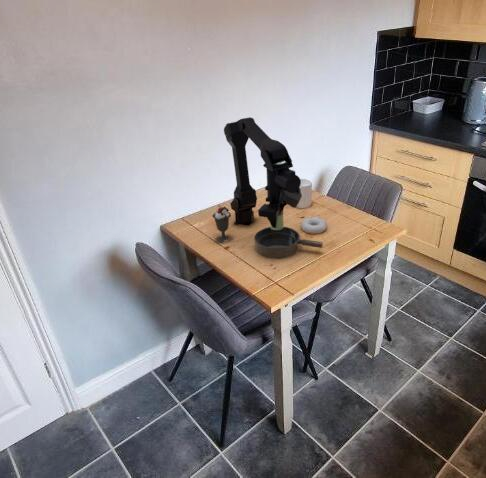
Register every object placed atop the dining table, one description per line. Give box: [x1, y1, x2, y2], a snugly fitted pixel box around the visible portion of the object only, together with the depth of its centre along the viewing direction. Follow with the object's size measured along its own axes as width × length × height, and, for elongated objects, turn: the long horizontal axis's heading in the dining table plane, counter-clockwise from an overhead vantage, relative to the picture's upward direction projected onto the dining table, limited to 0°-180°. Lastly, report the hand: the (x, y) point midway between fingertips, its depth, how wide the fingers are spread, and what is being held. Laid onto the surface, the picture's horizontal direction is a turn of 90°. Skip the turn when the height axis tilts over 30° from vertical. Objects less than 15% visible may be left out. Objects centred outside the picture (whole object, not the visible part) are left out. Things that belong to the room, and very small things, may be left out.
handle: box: [298, 239, 324, 249], centre depth 149 cm, size 8×2×2 cm, turn 72°
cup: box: [296, 178, 313, 209], centre depth 182 cm, size 8×12×10 cm
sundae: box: [211, 204, 232, 244], centre depth 156 cm, size 7×7×15 cm
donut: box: [300, 216, 328, 235], centre depth 165 cm, size 10×4×10 cm
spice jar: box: [269, 208, 284, 230], centre depth 149 cm, size 5×5×7 cm
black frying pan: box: [253, 226, 301, 260], centre depth 153 cm, size 16×16×4 cm
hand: (276, 224), depth 150 cm, fingers closed on spice jar, 4 cm apart
